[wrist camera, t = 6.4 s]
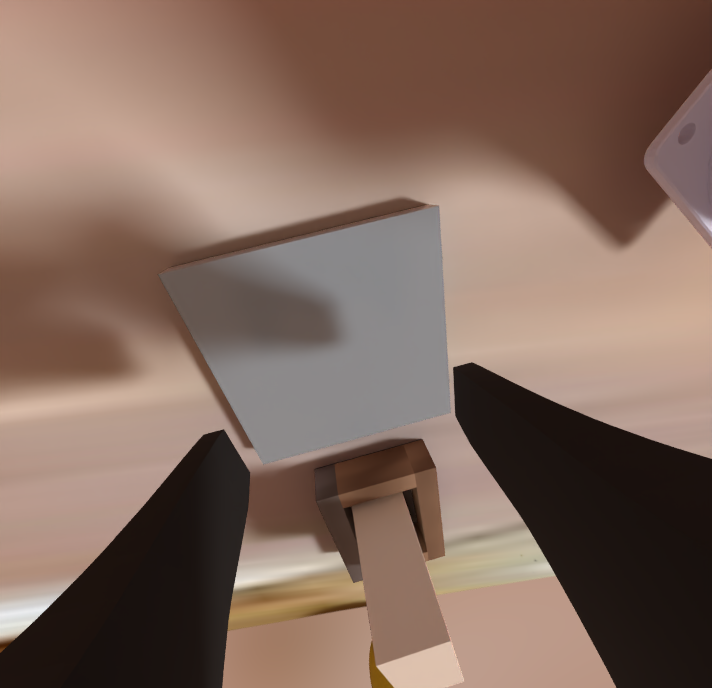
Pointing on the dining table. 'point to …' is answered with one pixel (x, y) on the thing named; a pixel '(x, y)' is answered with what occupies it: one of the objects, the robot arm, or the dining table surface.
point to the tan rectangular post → (402, 599)
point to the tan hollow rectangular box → (374, 481)
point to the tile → (324, 331)
